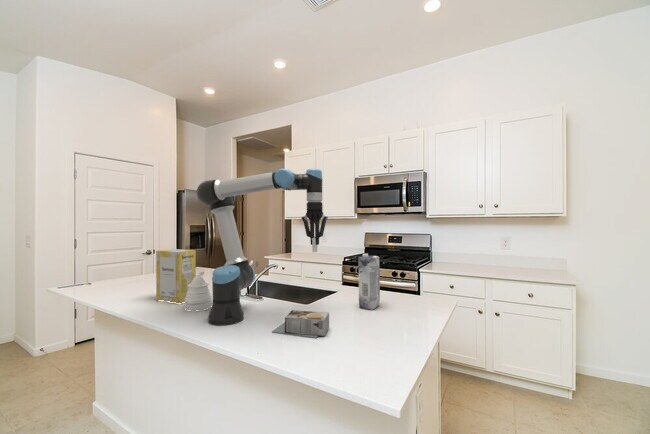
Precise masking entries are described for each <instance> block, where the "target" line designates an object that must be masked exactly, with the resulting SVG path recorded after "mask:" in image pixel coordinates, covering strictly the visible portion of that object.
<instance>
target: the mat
mask: <svg viewBox="0 0 650 434" xmlns="http://www.w3.org/2000/svg"><path fill="white" fill-rule="evenodd" d="M271 333H272V334H279V335H287V336H295V337H300V338H301V337H302V338H309V339H314V340H315V339H318V338H319V336H320V335H308V334H295V333H285V321H284V322H283V323H282V324H280V325H279V326H277V327H276V328H274V329H273V330H272V331H271Z"/></svg>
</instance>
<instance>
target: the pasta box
mask: <svg viewBox="0 0 650 434" xmlns="http://www.w3.org/2000/svg"><path fill="white" fill-rule="evenodd" d="M196 254H197V252H196V249H195V250H194V249H183V248H181V249H178V248H175V249H174V248H171V249H163V250H162V249H161V250H156V251H155V255H156V258H155V261H156V262H155V267H156V268H155V269H156V270H155V274H156V275H155V276H156V277H155V278H156V279H155V280H156V281H155V285H156V287H155V288H156V292H155V293H156V296H155V298H156V299H157V300H164V301H170V302H176V303H182V302H185V297H186V294H187V291H188V289H189V287H188V285H189V284H191V282H192V280H193V278H194V277H195V276H197V275H196V273H197V270H196V269H197V267H196V264H197V263H196V260H197V257H196Z"/></svg>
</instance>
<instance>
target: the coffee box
mask: <svg viewBox="0 0 650 434" xmlns="http://www.w3.org/2000/svg"><path fill="white" fill-rule="evenodd" d="M284 322H285V333H295V334H308V335H319V336H323V337H325V335H326V334H327V332H328V330H329V328H330V312H327V311H326V312H325V311H311V310H293V309H292V310H291V311H289V313H287V314H286V316H285V317H284Z"/></svg>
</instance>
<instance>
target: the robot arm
mask: <svg viewBox="0 0 650 434" xmlns="http://www.w3.org/2000/svg"><path fill="white" fill-rule="evenodd" d="M279 189H282V190H284V191H290V192H291V191H306V213H305V215H303V216H301V221H303V225H304V230H305V235H306V237H308V238H310V245H312V248H311V249H312V253H317V252H318V245H320V238H321V237H323V236H324V232H325V228H326V223H327V221H328V219H329V216H326V215H325V214H324V212H323V207H324V206H323V172H322V170H321V169H318V168H309V169H306V172H305V173H300V174H298V173H294V172H293V171H291V170H290V169H287V168H280V169H278V170H277V171H272V172H268V173H266V172H265V173H260V174H254V175H248V176H243V177H237V178H231V179H226V180H221V179H219V178H217V179H211V180H204V181H202V182H201V183H200V184H198V186H197V188H196V193H195V194H196V198H197V199H198V200H199V202H200V203H202V204H203V205H206V206H209V210H210V212H211V214H213V215H214V216H215V221H216V225H217V228H218V233H219V237H220V241H221V244H222V248H223V252H224V256H225V257H224V258H225V260H226V262H225V263H224V265H223V266H219V267H216V268H214V270H213V271H212V277H211V281H212V283H211V284H212V307H211V308H210V311H209V315H208V316H207V317H208V323H209V324H210V325H214V326H228V325H233V324H237V323H239V322H240V323H241V321H243V320H244V318H245V313H244V312H245V311H244V310H243V306H242V304H241V298H240V297H241V295H240V294H241V293H240V292H241V291H242V290H243V289H246V288H248V287H249V286H251V285H252V284H253V282H254V281H255V278H256V272H255V269H254V267H253V266H252V265H251V264H250V263H249V259H248V258H247V257H245V254H244V251H243V247H242V243H241V238H240V235H239V232H238V231H239V230H238V228H237V227H238V226H237V224H236V219H235V216H234V212H233V210H234V209H235V200H236V197H237V196H242V195H248V194H253V193H259V192H264V191H265V192H266V191H273V190H279ZM321 219H322V220H321ZM308 220H309V222H308ZM320 221H321V223H320Z"/></svg>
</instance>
